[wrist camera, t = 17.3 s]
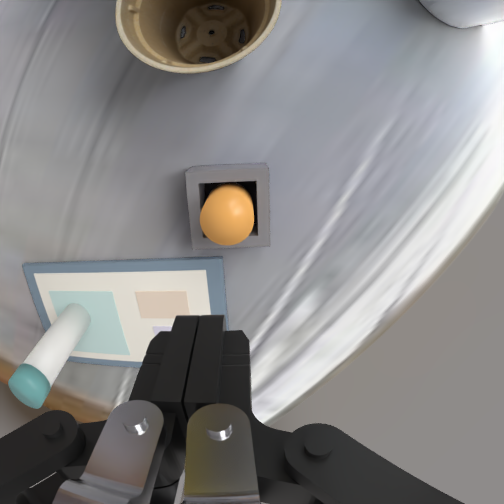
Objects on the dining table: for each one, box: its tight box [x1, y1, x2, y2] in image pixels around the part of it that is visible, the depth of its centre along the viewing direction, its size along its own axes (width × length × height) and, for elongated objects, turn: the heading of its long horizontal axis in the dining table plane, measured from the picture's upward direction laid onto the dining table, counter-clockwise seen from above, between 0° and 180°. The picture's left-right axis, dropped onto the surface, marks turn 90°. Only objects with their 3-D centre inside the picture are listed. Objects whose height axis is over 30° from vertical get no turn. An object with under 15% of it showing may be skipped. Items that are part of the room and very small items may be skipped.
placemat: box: [22, 256, 229, 368], centre depth 31 cm, size 22×13×1 cm, turn 92°
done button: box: [200, 182, 254, 245], centre depth 23 cm, size 4×4×4 cm
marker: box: [8, 303, 91, 408], centre depth 24 cm, size 3×3×12 cm
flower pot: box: [115, 0, 282, 74], centre depth 17 cm, size 9×9×9 cm
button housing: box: [185, 163, 270, 249], centre depth 25 cm, size 6×6×3 cm
